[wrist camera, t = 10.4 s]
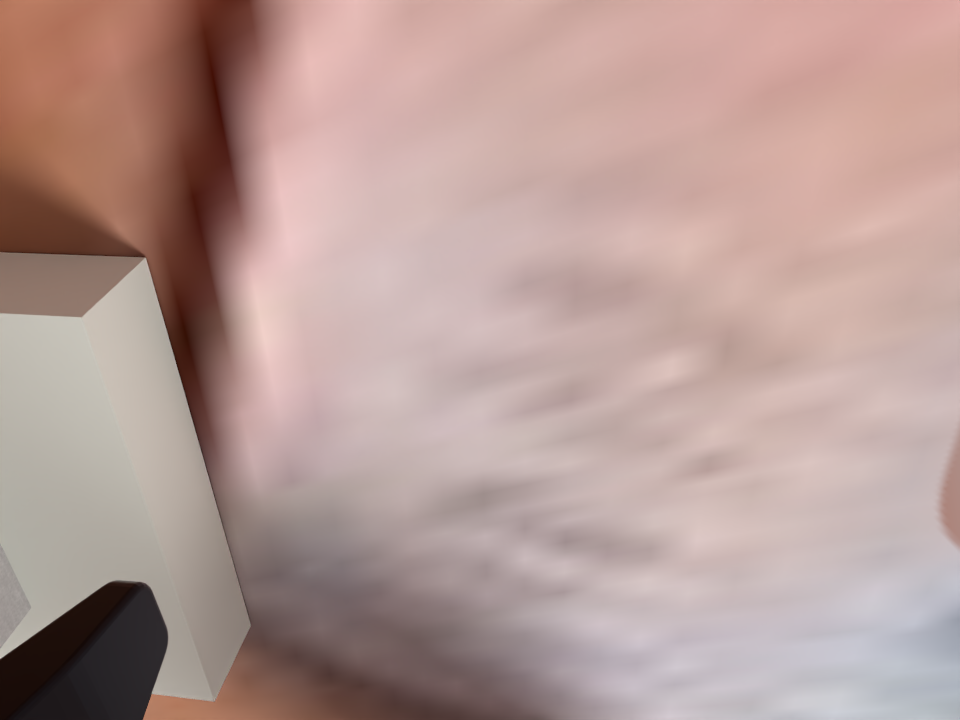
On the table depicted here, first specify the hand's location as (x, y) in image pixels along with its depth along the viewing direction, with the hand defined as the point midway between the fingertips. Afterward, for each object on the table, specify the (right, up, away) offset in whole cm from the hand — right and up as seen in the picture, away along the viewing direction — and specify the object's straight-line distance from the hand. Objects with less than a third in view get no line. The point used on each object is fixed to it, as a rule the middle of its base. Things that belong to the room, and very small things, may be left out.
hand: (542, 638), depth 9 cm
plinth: (-16, 0, +18) cm, 24 cm away
